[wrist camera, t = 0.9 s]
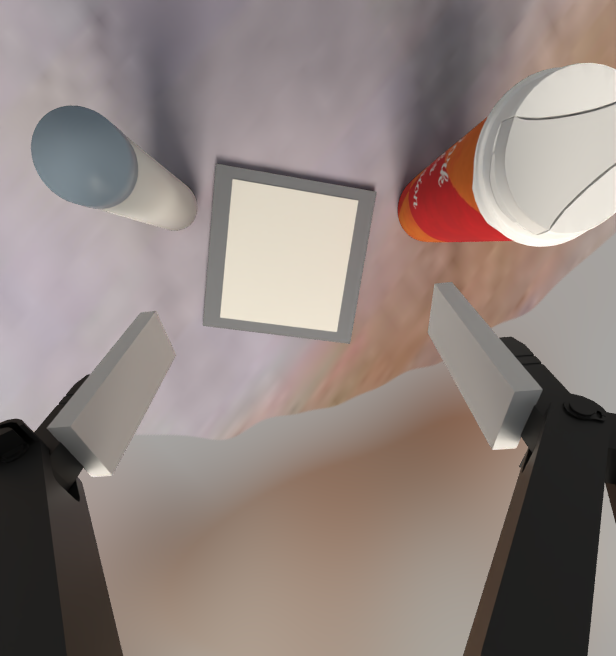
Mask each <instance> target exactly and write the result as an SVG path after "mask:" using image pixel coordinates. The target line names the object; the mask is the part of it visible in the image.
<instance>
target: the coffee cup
mask: <svg viewBox="0 0 616 656" xmlns="http://www.w3.org/2000/svg"><path fill="white" fill-rule="evenodd" d="M614 213H616V69H614V68H611V67H608V66H606V65H602V64H596V63H577V64H573V65H568V66H564V67H562V68H552V69H547V70H543V71H540V72H537V73H535V74H533V75H530V76H528V77H527V78H525V79H523V80H522V81H520V82H519V83H517V84H516V85H515V86H513V87H512V88H511V89H510V90H509V91H508V92H506V93H505V94H504V96H503V97H502V98H501V99H500V100H499V101H498V102H497V104H496V105H495V106H494V108H493V109H492V111H491V112H490V114H489V115H488V117H487V118H485V119H484V120H483V121H482V122H481V123H479V124H478V125H477V126H476V127H475V128H473V129H472V130H471V131H470V132H469V133H467V134H466V135H465V136H464V137H463V138H461V139H460V140H459V141H458V142H456V143H455V144H454V145H453V146H452V147H450V148H449V149H448V150H447V151H446V152H444V153H443V154H442V155H441V156H440V157H438V158H437V159H436V160H435V161H434V162H432V163H431V164H430V165H429V166H428V167H427V168H425V169H424V170H423V171H422V172H421V173H419V174H418V175H417V176H416V177H415V178H414V179H413V180H412V181H411V182H410V183H409V184H408V185H407V186H406V187H405V189H404V190H403V192H402V194H401V196H400V199H399V203H398V217H399V221H400V224H401V226H402V228H403V229H404V231H405V232H406V233H407V234H408V235H409V236H411V237H412V238H414V239H416V240H419V241H424V242H479V241H515V242H517V243H521V244H524V245H528V246H537V247H542V246H553V245H557V244H561V243H565V242H567V241H569V240H572V239H574V238H576V237H578V236H579V235H581V234H583V233H584V232H586V231H587V230H589V229H592V228H594V227H596V226H598V225H599V224H601V223H603V222H604V221H606V220H607V219H608V218H610V217H611V216H612V215H613V214H614Z"/></svg>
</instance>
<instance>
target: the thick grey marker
mask: <svg viewBox="0 0 616 656" xmlns="http://www.w3.org/2000/svg"><path fill="white" fill-rule="evenodd" d="M31 152H32V158H33V162H34V165H35V168H36V170H37V172H38V174H39V176H40V178H41V179H42V181H43V182H44V183H45V184H46V186H47V187H48V188H49V189H50V190H51V191H53V192H54V193H55V194H56V195H58V196H59V197H61V198H63V199H65V200H67V201H69V202H72V203H75V204H78V205H82V206H85V207H89V208H95V209H99V210H103V211H106V212H109V213H113V214H116V215H119V216H123V217H126V218H130V219H133V220H136V221H140V222H143V223H147V224H150V225H153V226H157V227H160V228H163V229H167V230H171V231H178V230H182V229H185V228H187V227H188V226H189V225H190V224H191V223H192V222H193V221H194V219H195V217H196V214H197V201H196V198H195V196H194V194H193V192H192V191H191V190H190V188H189V187H188V186H186V185H185V184H184V183H183V182H182V181H180V180H179V179H178V178H177V177H175V176H174V175H173V174H172V173H170V172H169V171H168V170H167V169H166V168H164V167H163V166H162V165H161V164H159V163H158V162H157V161H156V160H155V159H153V158H152V157H151V156H150V155H148V154H147V153H146V152H145V151H143V150H142V149H141V148H140V147H139V146H137V145H136V144H135V143H134V142H132V141H131V140H130V139H129V138H128V137H126V136H125V135H124V134H123V133H122V132H121V131H120V130H119V129H118V128H117V127H116V126H115V125H113V124H112V123H111V122H110V121H108V120H107V119H106V118H105V117H103V116H102V115H100V114H99V113H97V112H95V111H93V110H91V109H88V108H85V107H81V106H64V107H60V108H56V109H54V110H52V111H50V112H49V113H47V114H46V115H45V116H44V117H43V118H42V119H41V120H40V121H39V123H38V124H37V126H36V128H35V130H34V133H33V136H32V142H31Z"/></svg>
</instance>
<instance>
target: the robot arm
mask: <svg viewBox="0 0 616 656" xmlns="http://www.w3.org/2000/svg"><path fill="white" fill-rule="evenodd" d="M428 334H429V336H430V337H431V339H432V341H433V343H434V345H435V347H436V348H437V350H438V352H439V354H440V356H441V357H442V359H443V361H444V363H445V365H446V367H447V368H448V370H449V372H450V374H451V376H452V377H453V379H454V381H455V383H456V385H457V386H458V388H459V390H460V392H461V394H462V396H463V398H464V399H465V401H466V403H467V405H468V406H469V408H470V410H471V412H472V414H473V416H474V418H475V419H476V421H477V423H478V425H479V427H480V429H481V430H482V432H483V434H484V436H485V438H486V439H487V441H488V443H489V445H490V447H491V449H492V450H496V449H512V448H516V447H517V445H518V443H519V440H520V438H521V437H522V438H523V440H524V441H525V443H526V445H527V446H528V450H527V452H526V454H525V456H524V458H523V460H522V462H521V464H520V466H519V467H521V470H520V473H519V477H518V480H517V483H516V486H515V490H514V493H513V496H512V499H511V502H510V506H509V509H508V512H507V515H506V519H505V522H504V525H503V528H502V531H501V535H500V538H499V541H498V545H497V548H496V551H495V554H494V557H493V561H492V564H491V567H490V570H489V573H488V577H487V580H486V583H485V586H484V590H483V593H482V596H481V599H480V602H479V606H478V609H477V612H476V615H475V619H474V622H473V625H472V628H471V631H470V635H469V638H468V641H467V644H466V648H465V651H464V654H463V656H587V655H588V644H589V634H590V624H591V614H592V603H593V594H594V584H595V574H596V564H597V554H598V544H599V534H600V524H601V513H602V503H603V492H604V483H605V484H606V488H607V491H608V496H609V498H610V503H611V507H612V510H613V515H614V518H615V522H616V414H614V413H608V412H606V411H605V410H604V409H603V408H602V407H601V406H600V405H598V404H597V403H595V402H594V401H592V400H590V399H587V398H585V397H583V396H579V395H574V394H570V393H569V392H568V391H567V389H565V387H564V386H563V385H562V384H561V383H560V382H559V381H558V380H557V379H556V378H555V377H554V375H553V374H552V373H551V372H550V371H549V370H548V369H547V368H546V367H545V366H544V365H543V364H541V362H540V360H539V359H538V358H537V357H536V356H534V354H533V353H532V352H531V351H530V350H529V349H528V348H527V347H526V346H525V345H524V344H523V343H521V342H519V341H517V340H516V339H514V338H513V337H502V338H498V336H497V335H496V334H495V332H494V331H493V330H492V329H491V328H490V327H489V325H488V324H487V323H486V322H485V321H484V320H483V318H482V317H481V316H480V315H479V314H478V312H477V311H476V310H475V309H474V308H473V307H472V305H471V304H470V303H469V302H468V301H467V299H466V298H465V297H464V296H463V295H462V294H461V292H460V291H459V290H458V289H457V288H456V287H455V285H454V284H453V283H452V282H447V283H437V284H434V291H433V299H432V306H431V313H430V321H429V328H428ZM175 356H176V354H175V352H174V349H173V347H172V345H171V343H170V341H169V339H168V336H167V334H166V332H165V330H164V328H163V325H162V323H161V321H160V319H159V317H158V314H157V312H156V311H153V312H143V313H140V314H139V315H138V317H137V318H136V319H135V320H134V321H133V323H132V324H131V325H130V326H129V328H128V329H127V330H126V331H125V333H124V334H123V335H122V336H121V337H120V339H119V340H118V341H117V342H116V344H115V345H114V346H113V347H112V348H111V350H110V351H109V352H108V353H107V355H106V356H105V357H104V358H103V360H102V361H101V362H100V363H99V364H98V366H97V367H96V368H95V369H94V371H93V372H92V373H91V374H89V375H86V376H85V377H84V378H82V379H81V380H80V381H78V382H77V383H76V384H75V385H74V386H73V387H72V388H71V389H70V391H69V392H68V393H67V394H66V396H65V397H64V398H63V399H62V400H61V401H60V402H59V405H57V406H56V407H55V408H54V410H53V411H52V412H51V413H50V414H49V416H48V417H47V418H46V419H45V420H44V421H43V423H42V424H41V425H40V426H39V427H38V429H37V430H36V431H35V432H33V431H32V430H31V429H30V428H29V427H28V426H27V425H26V424H25V423H24V422H23V421H22V420H20V419H11V420H6V421H4V422H1V423H0V656H123V653H122V649H121V645H120V641H119V636H118V632H117V628H116V624H115V619H114V615H113V611H112V607H111V603H110V598H109V594H108V590H107V586H106V581H105V577H104V573H103V569H102V565H101V561H100V557H99V552H98V548H97V543H96V539H95V535H94V531H93V527H92V522H91V518H90V514H89V510H88V505H87V501H86V497H85V493H84V489H83V485H82V482H81V481H80V479H79V478H78V475H79V474H80V472H81V470H82V469H83V468H84V469H85V470H86V471H87V472H88V473H89V474H90V476H91V477H98V476H112V475H113V473H114V472H115V470H116V468H117V466H118V464H119V462H120V460H121V458H122V456H123V455H124V452H125V451H126V449H127V447H128V445H129V443H130V441H131V440H132V438H133V436H134V434H135V432H136V430H137V428H138V426H139V424H140V423H141V421H142V419H143V417H144V415H145V413H146V411H147V409H148V407H149V406H150V404H151V402H152V400H153V398H154V396H155V394H156V392H157V390H158V388H159V387H160V385H161V383H162V381H163V379H164V377H165V375H166V373H167V371H168V370H169V368H170V366H171V364H172V362H173V360H174V358H175Z"/></svg>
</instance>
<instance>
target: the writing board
mask: <svg viewBox="0 0 616 656" xmlns="http://www.w3.org/2000/svg"><path fill="white" fill-rule="evenodd" d="M375 198H376V192H374V191H369V190H363V189H357V188H352V187H346V186H340V185H335V184H329V183H323V182H318V181H312V180H306V179H301V178H295V177H289V176H284V175H278V174H272V173H267V172H261V171H255V170H250V169H244V168H239V167H233V166H227V165H222V164H216V168H215V180H214V192H213V205H212V217H211V230H210V242H209V254H208V267H207V279H206V292H205V304H204V316H203V326H208V327H217V328H225V329H233V330H241V331H249V332H258V333H266V334H274V335H282V336H291V337H299V338H307V339H315V340H323V341H332V342H340V343H348V344H350V341H351V335H352V330H353V324H354V318H355V313H356V307H357V301H358V295H359V290H360V284H361V278H362V272H363V267H364V261H365V255H366V249H367V244H368V238H369V232H370V226H371V221H372V215H373V209H374V204H375Z"/></svg>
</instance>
